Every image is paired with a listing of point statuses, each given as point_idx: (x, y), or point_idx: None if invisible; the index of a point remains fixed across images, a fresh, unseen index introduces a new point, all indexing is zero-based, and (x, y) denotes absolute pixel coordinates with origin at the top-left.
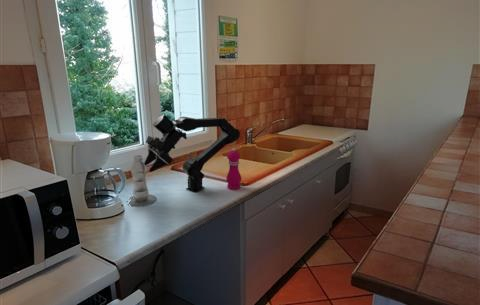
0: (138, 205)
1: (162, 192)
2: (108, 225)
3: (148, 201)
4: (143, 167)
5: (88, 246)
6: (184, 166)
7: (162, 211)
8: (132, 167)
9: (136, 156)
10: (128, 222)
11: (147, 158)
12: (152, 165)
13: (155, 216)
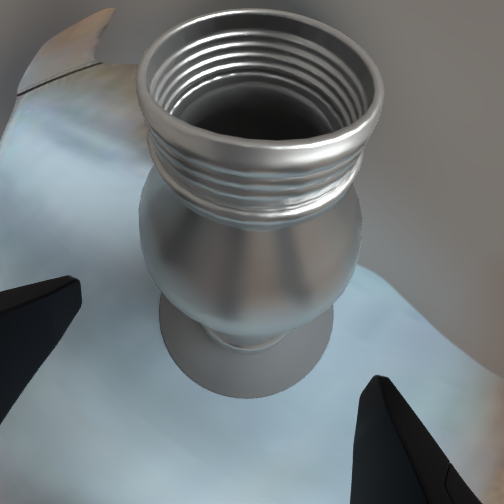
0: None
1: (257, 459)
2: None
3: (197, 326)
4: (140, 226)
5: (103, 66)
6: None
7: None
8: (243, 115)
9: (365, 101)
10: (102, 160)
11: (406, 464)
12: (5, 300)
13: (52, 252)
